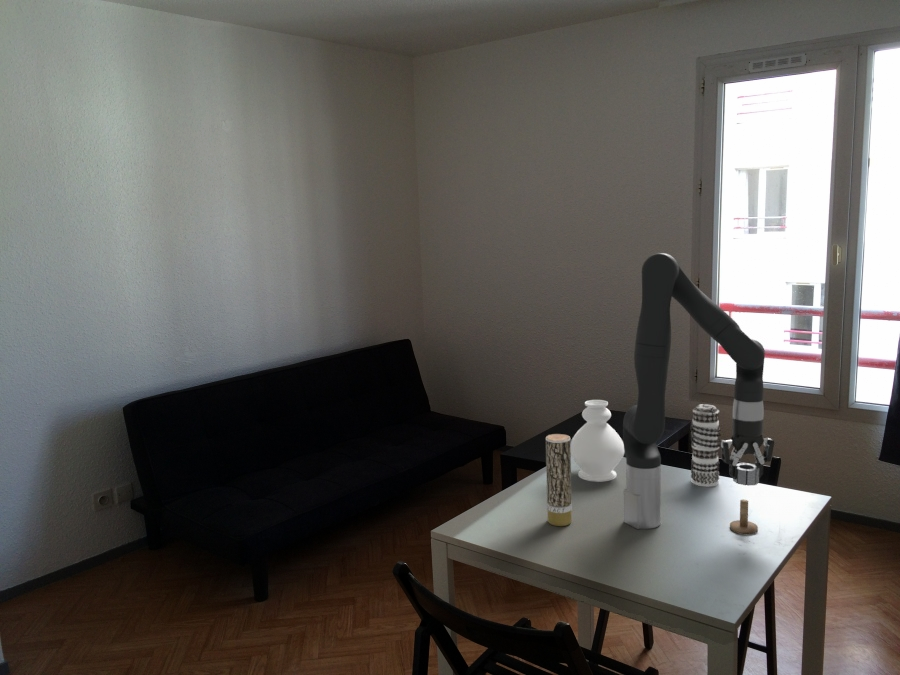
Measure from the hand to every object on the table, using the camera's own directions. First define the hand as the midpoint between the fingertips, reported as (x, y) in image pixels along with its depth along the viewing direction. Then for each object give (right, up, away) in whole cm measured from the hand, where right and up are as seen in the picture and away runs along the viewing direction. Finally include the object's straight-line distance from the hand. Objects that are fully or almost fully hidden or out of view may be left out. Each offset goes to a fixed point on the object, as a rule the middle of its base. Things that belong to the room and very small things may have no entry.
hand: (745, 477), depth 194 cm
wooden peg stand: (+1, -15, +4) cm, 15 cm away
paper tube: (-47, -16, +14) cm, 52 cm away
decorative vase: (-29, -9, +50) cm, 59 cm away
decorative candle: (+3, -9, +40) cm, 41 cm away
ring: (0, -1, 0) cm, 1 cm away
